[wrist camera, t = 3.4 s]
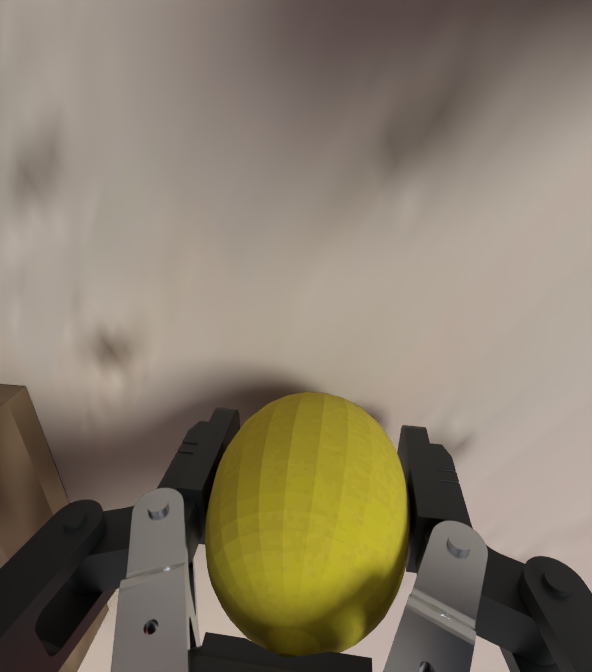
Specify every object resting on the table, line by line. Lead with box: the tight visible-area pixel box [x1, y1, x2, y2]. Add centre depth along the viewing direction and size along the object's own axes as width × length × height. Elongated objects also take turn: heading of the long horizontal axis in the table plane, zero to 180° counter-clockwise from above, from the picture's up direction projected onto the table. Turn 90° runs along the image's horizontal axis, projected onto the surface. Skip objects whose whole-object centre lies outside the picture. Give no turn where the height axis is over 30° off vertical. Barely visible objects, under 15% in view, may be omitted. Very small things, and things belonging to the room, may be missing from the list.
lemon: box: [205, 392, 410, 658], centre depth 11 cm, size 6×6×8 cm
